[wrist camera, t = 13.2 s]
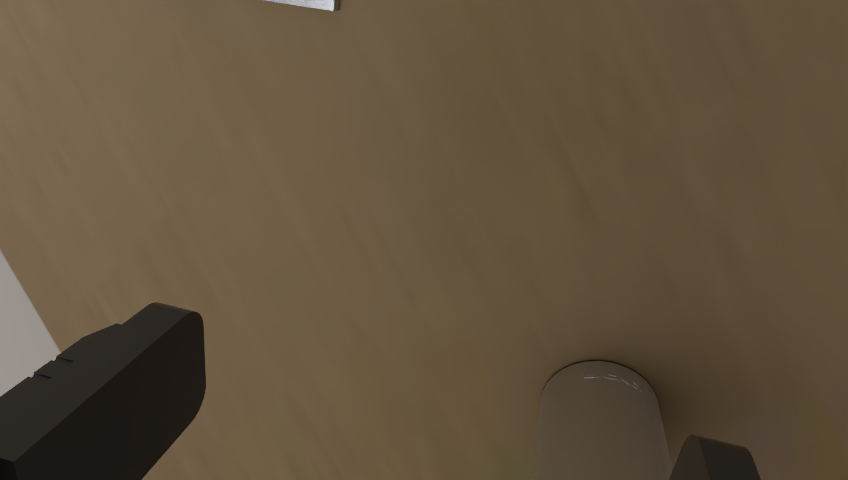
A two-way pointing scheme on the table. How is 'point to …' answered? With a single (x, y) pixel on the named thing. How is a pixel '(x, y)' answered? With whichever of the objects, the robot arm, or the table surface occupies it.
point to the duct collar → (313, 3)
